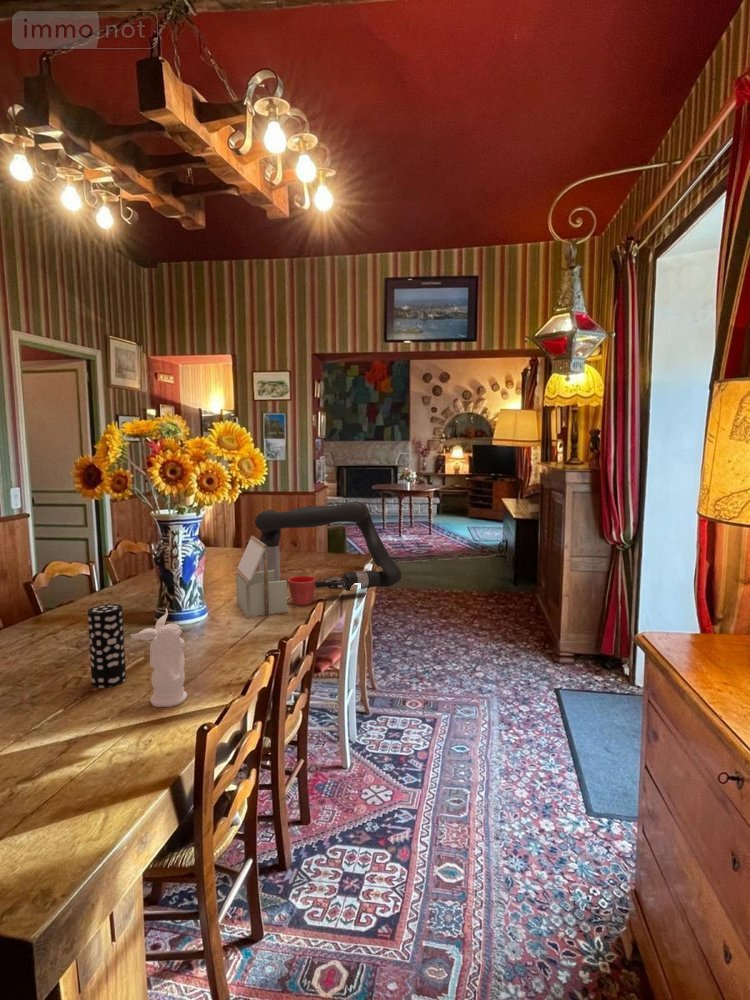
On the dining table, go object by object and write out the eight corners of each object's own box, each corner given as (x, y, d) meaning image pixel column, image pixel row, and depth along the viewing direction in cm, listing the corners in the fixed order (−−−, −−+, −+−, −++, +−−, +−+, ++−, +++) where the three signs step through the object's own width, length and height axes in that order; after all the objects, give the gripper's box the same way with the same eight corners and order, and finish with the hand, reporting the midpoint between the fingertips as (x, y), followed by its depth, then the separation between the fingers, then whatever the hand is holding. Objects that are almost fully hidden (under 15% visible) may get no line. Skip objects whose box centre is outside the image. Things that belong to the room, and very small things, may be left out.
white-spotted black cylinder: (102, 674, 154) (97, 604, 152) (131, 675, 154) (127, 604, 152) (85, 687, 146) (80, 613, 144) (116, 688, 145) (112, 613, 143)
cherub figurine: (186, 708, 135) (182, 619, 132) (130, 715, 131) (125, 625, 128) (188, 686, 146) (184, 604, 144) (137, 692, 143) (132, 609, 140)
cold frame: (237, 603, 222) (236, 573, 221) (274, 598, 229) (273, 570, 227) (247, 617, 204) (246, 585, 203) (287, 612, 210) (286, 581, 209)
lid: (238, 571, 223) (235, 570, 223) (253, 536, 224) (251, 535, 224) (250, 583, 202) (247, 583, 202) (267, 545, 203) (264, 544, 203)
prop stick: (264, 615, 207) (262, 552, 204) (268, 614, 207) (266, 552, 205) (265, 616, 205) (263, 553, 203) (269, 615, 206) (267, 553, 204)
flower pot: (314, 606, 218) (314, 582, 217) (286, 606, 218) (286, 582, 217) (317, 598, 228) (317, 575, 227) (291, 598, 229) (290, 575, 228)
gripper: (349, 568, 238) (310, 572, 230) (361, 575, 226) (320, 579, 218) (349, 585, 238) (310, 590, 231) (361, 593, 226) (321, 598, 219)
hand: (315, 585), depth 225 cm, fingers closed
